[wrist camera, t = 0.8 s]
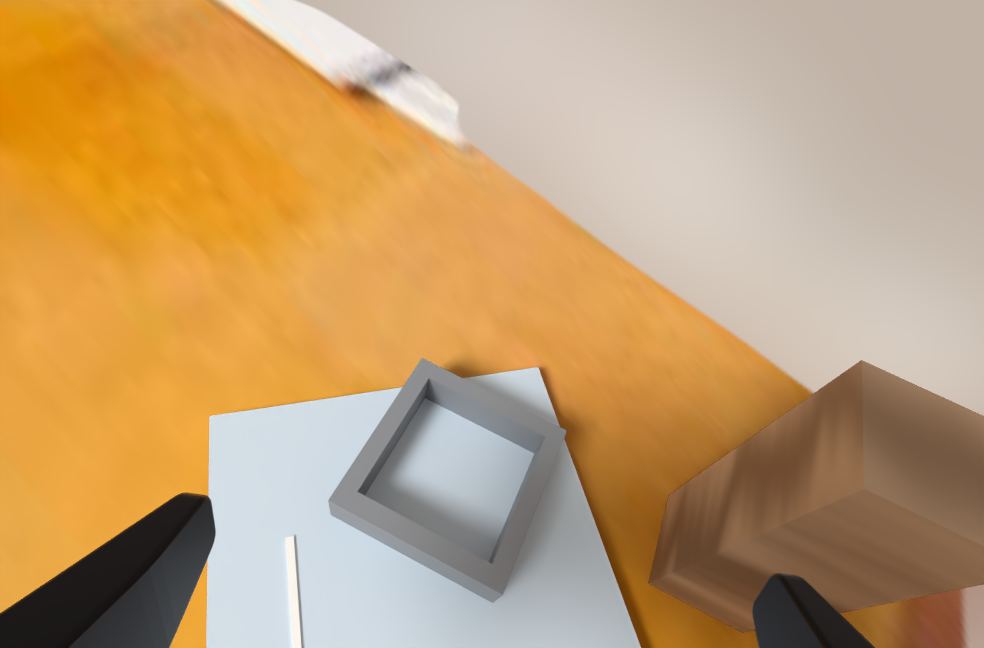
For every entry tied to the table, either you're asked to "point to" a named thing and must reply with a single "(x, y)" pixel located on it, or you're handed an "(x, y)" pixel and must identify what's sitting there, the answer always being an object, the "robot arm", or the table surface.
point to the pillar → (834, 503)
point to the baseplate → (423, 491)
